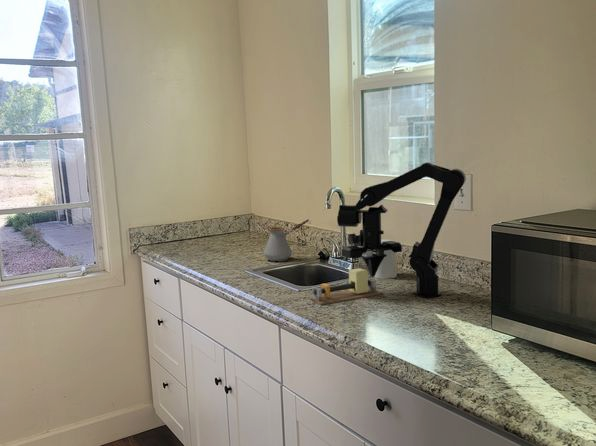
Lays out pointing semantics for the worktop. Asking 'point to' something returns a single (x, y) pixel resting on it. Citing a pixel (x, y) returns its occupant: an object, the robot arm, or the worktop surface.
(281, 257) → the coffee pot
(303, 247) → the worktop surface
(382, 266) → the cup
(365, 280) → the sleeve
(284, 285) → the worktop surface
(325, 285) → the band
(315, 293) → the rod on a board
